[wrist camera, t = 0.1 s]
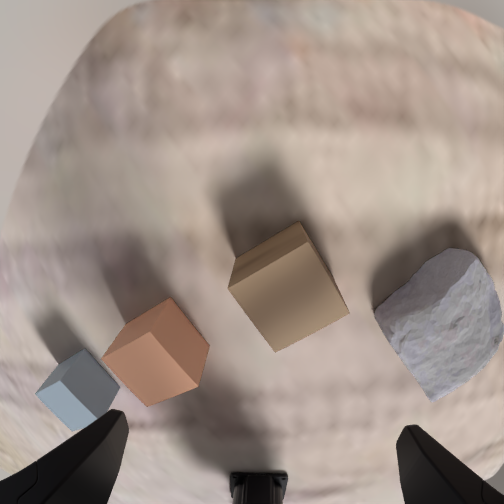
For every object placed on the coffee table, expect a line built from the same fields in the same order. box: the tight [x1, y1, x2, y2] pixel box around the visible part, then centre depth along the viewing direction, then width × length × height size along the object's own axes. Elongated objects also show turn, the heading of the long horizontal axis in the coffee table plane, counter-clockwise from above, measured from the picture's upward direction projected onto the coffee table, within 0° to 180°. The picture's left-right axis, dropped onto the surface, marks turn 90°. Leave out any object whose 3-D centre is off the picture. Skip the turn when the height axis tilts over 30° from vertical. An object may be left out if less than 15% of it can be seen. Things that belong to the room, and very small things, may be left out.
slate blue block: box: [35, 349, 120, 431], centre depth 25 cm, size 5×5×5 cm
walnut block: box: [228, 221, 349, 352], centre depth 20 cm, size 5×5×5 cm
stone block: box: [374, 248, 504, 402], centre depth 22 cm, size 12×5×10 cm
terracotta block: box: [101, 297, 210, 407], centre depth 22 cm, size 5×5×5 cm
